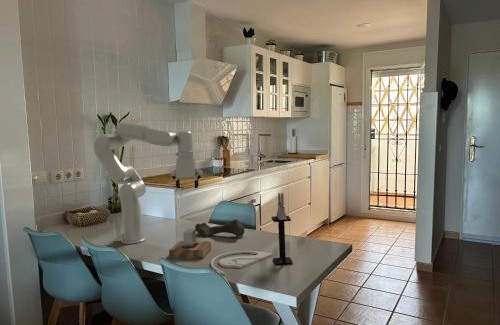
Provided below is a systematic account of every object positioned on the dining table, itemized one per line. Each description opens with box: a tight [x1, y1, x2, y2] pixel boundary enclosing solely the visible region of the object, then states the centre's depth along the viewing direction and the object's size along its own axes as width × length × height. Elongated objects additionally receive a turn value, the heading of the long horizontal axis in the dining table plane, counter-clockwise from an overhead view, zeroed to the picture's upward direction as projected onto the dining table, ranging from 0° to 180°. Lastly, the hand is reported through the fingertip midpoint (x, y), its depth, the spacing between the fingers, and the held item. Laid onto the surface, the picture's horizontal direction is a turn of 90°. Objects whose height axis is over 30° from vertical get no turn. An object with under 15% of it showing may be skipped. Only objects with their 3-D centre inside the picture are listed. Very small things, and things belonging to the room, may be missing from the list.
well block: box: [168, 240, 212, 260], centre depth 185 cm, size 16×14×4 cm
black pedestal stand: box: [271, 192, 294, 266], centre depth 167 cm, size 10×8×30 cm
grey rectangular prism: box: [182, 228, 197, 248], centre depth 186 cm, size 4×7×10 cm, turn 171°
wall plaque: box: [210, 250, 274, 276], centre depth 173 cm, size 19×2×30 cm
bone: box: [194, 218, 245, 238], centre depth 215 cm, size 10×10×30 cm
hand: (187, 188), depth 205 cm, fingers open, 9 cm apart
